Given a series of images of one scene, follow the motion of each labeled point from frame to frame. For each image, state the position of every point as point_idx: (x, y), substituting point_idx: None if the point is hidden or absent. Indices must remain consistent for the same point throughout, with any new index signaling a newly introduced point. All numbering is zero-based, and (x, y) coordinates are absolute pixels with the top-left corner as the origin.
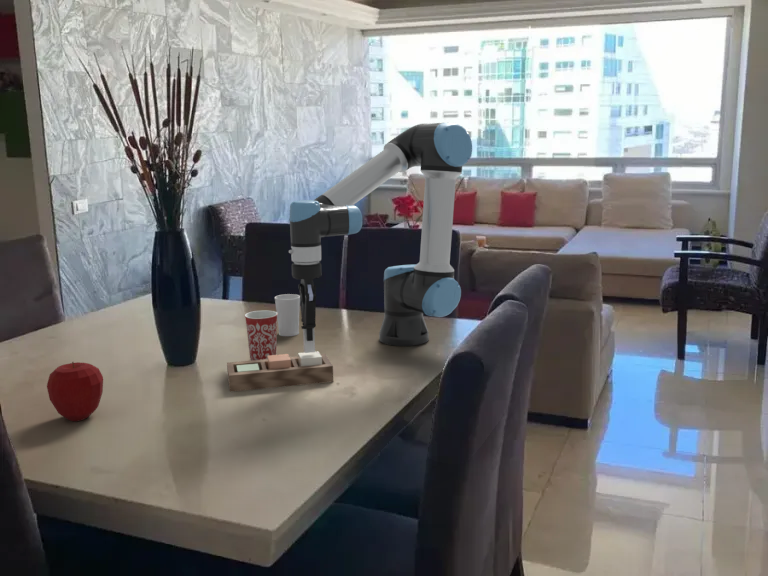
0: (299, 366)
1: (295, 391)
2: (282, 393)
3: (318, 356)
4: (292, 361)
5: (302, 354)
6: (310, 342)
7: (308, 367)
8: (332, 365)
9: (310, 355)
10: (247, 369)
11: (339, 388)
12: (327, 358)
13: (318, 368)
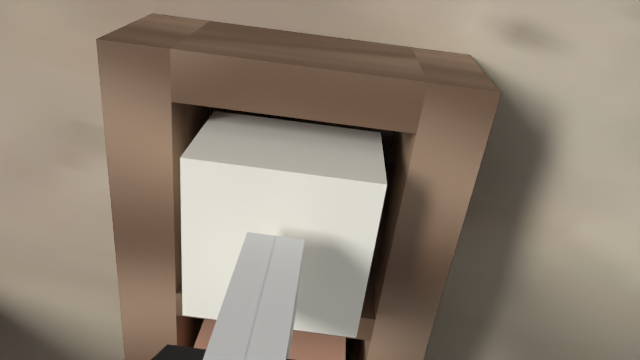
0: None
1: (509, 301)
2: (500, 356)
3: (358, 206)
4: None
5: None
6: (288, 349)
7: (428, 270)
8: (483, 89)
9: None
10: None
11: (631, 59)
12: (248, 65)
13: (465, 204)
